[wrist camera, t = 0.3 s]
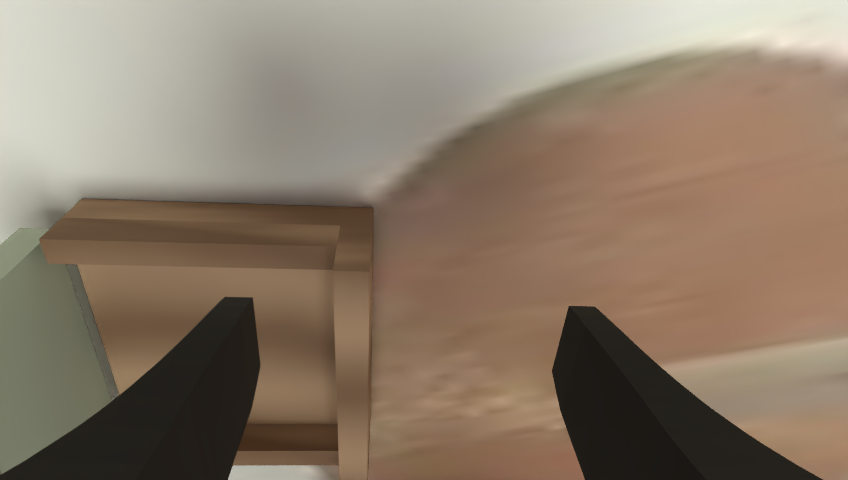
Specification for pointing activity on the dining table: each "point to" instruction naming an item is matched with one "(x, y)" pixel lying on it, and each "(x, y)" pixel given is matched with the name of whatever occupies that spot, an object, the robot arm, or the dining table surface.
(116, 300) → the tray
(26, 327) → the panel
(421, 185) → the dining table surface
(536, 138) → the dining table surface
